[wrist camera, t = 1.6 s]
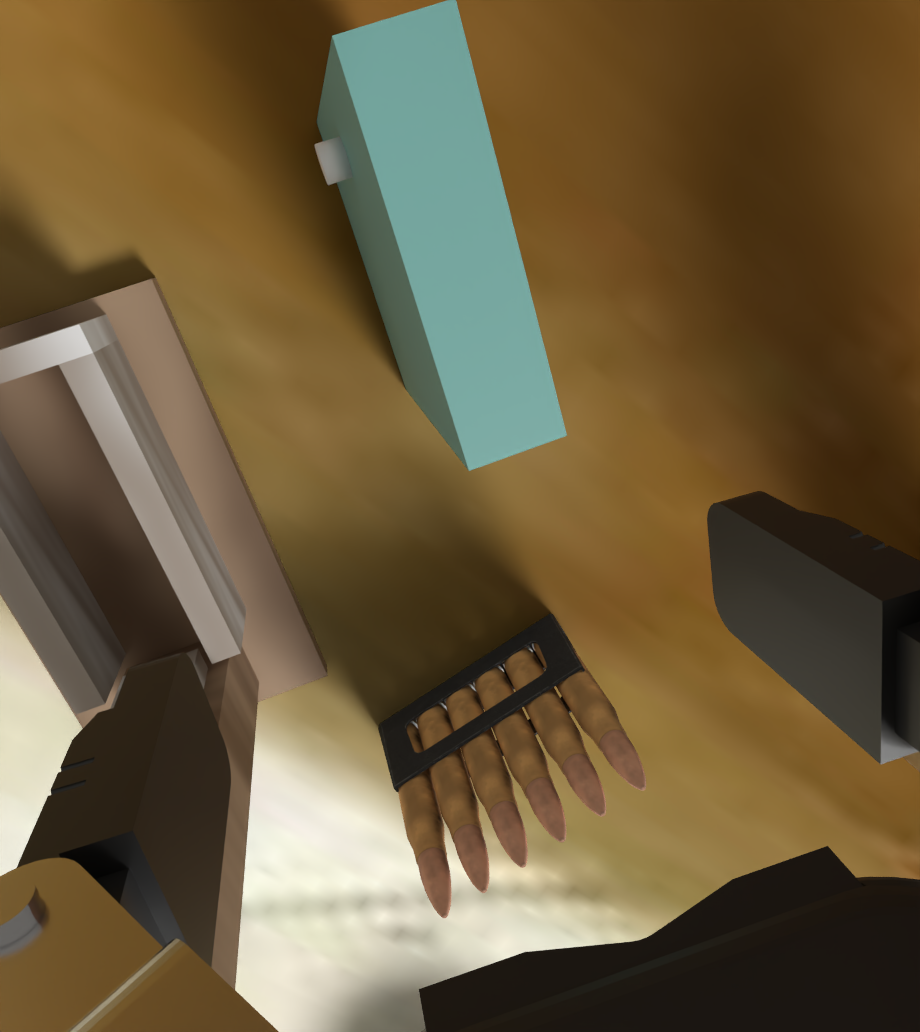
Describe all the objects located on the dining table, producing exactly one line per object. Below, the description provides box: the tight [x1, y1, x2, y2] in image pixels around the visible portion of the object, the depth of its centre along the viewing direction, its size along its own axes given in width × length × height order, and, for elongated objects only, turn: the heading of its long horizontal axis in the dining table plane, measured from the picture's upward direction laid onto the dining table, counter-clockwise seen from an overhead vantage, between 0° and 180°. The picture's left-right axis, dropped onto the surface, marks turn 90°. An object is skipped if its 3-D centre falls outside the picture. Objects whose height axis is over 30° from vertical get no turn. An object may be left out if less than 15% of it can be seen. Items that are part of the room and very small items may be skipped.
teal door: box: [314, 0, 567, 471], centre depth 25 cm, size 4×11×13 cm, turn 17°
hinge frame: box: [0, 278, 327, 990], centre depth 25 cm, size 11×19×18 cm, turn 17°
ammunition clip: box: [378, 614, 646, 918], centre depth 34 cm, size 11×2×12 cm, turn 121°
